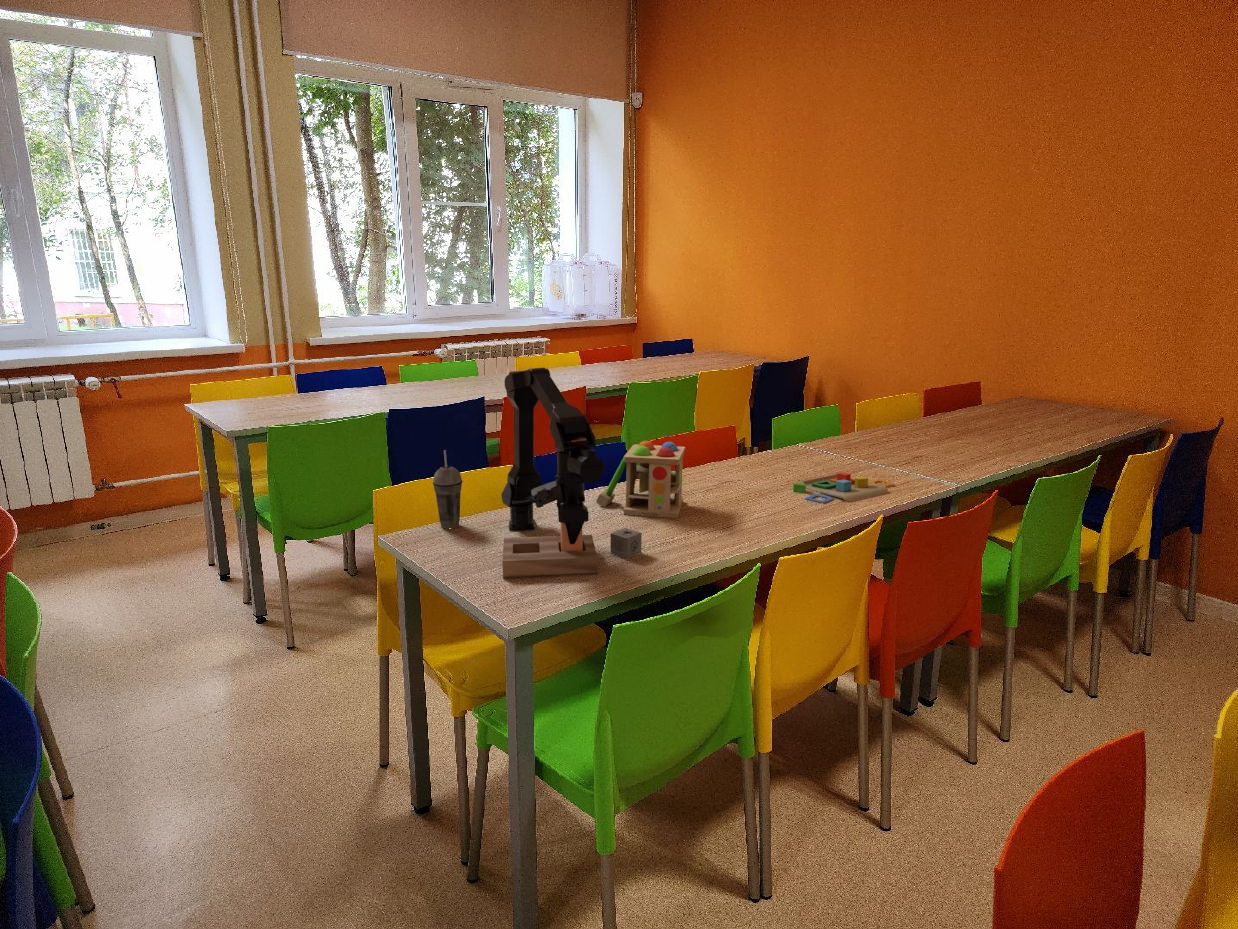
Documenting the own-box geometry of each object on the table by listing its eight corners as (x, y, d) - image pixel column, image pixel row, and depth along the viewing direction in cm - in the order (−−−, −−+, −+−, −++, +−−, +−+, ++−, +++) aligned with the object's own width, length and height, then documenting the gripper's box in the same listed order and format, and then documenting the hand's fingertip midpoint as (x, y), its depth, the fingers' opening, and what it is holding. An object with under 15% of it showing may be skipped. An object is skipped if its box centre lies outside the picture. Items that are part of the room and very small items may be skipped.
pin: (561, 549, 178) (560, 507, 175) (581, 548, 178) (580, 506, 176) (562, 557, 173) (561, 513, 171) (582, 556, 174) (582, 512, 171)
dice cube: (641, 553, 183) (641, 532, 181) (627, 559, 179) (627, 538, 178) (624, 548, 186) (624, 527, 184) (610, 554, 182) (610, 533, 181)
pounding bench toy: (591, 513, 210) (591, 447, 206) (602, 497, 224) (602, 435, 219) (677, 518, 206) (679, 451, 202) (684, 502, 220) (685, 439, 215)
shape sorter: (858, 475, 248) (859, 461, 247) (908, 490, 232) (910, 475, 231) (778, 492, 231) (778, 477, 229) (826, 509, 215) (828, 493, 214)
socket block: (504, 554, 181) (503, 538, 180) (591, 550, 184) (591, 534, 183) (503, 578, 168) (502, 561, 167) (597, 574, 170) (597, 557, 169)
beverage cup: (466, 521, 204) (463, 445, 198) (462, 531, 197) (458, 452, 191) (438, 521, 203) (433, 445, 198) (432, 531, 196) (427, 452, 191)
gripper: (532, 461, 179) (534, 527, 183) (533, 485, 161) (535, 557, 165) (581, 460, 180) (582, 525, 184) (588, 483, 162) (589, 555, 166)
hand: (571, 540), depth 175 cm, fingers closed on pin, 4 cm apart
